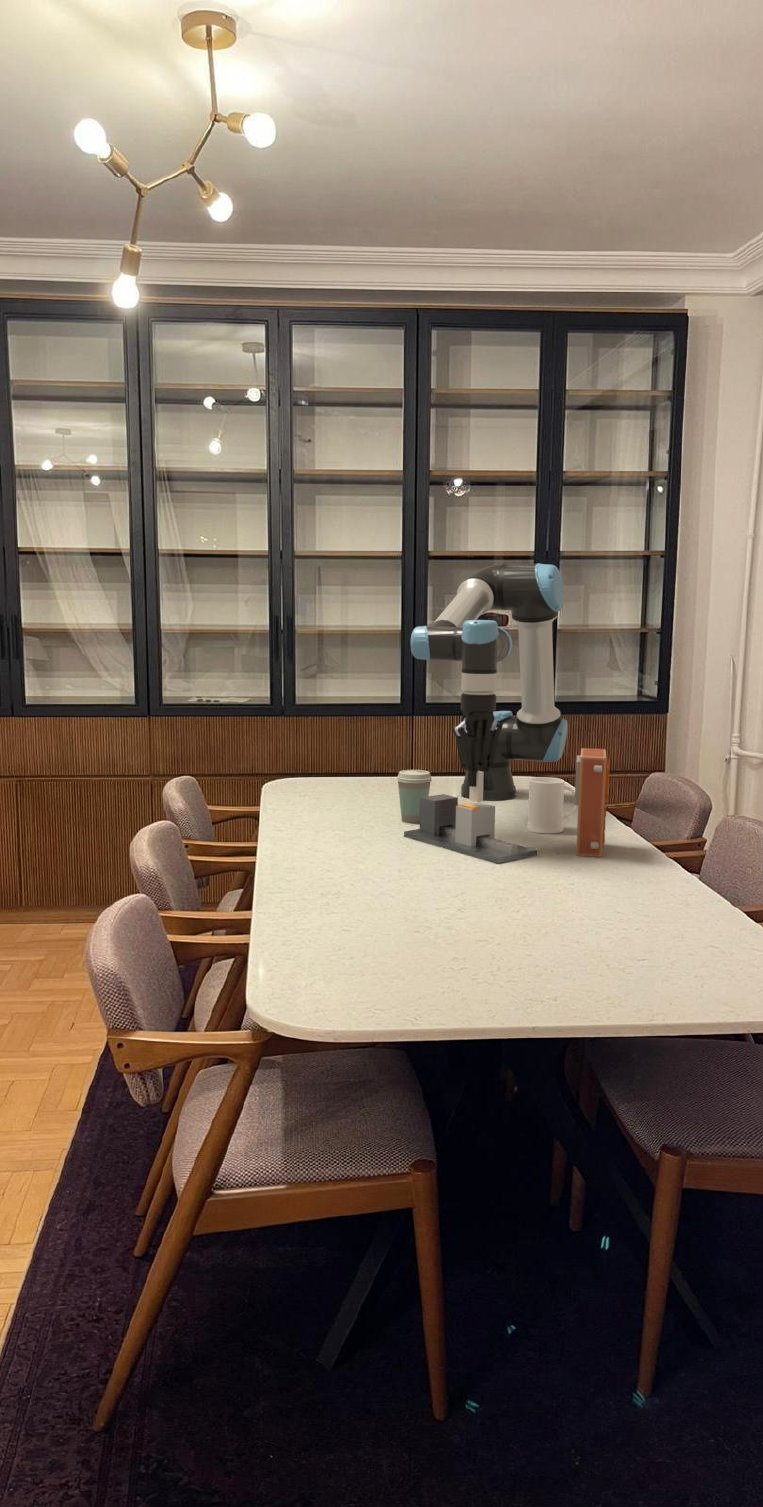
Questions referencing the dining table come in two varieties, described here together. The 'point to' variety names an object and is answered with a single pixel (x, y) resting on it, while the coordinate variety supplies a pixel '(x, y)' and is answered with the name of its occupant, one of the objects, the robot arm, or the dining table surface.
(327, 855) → the dining table surface
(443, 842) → the rail board
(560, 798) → the mug
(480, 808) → the module
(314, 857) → the dining table surface
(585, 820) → the control panel
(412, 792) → the coffee cup
